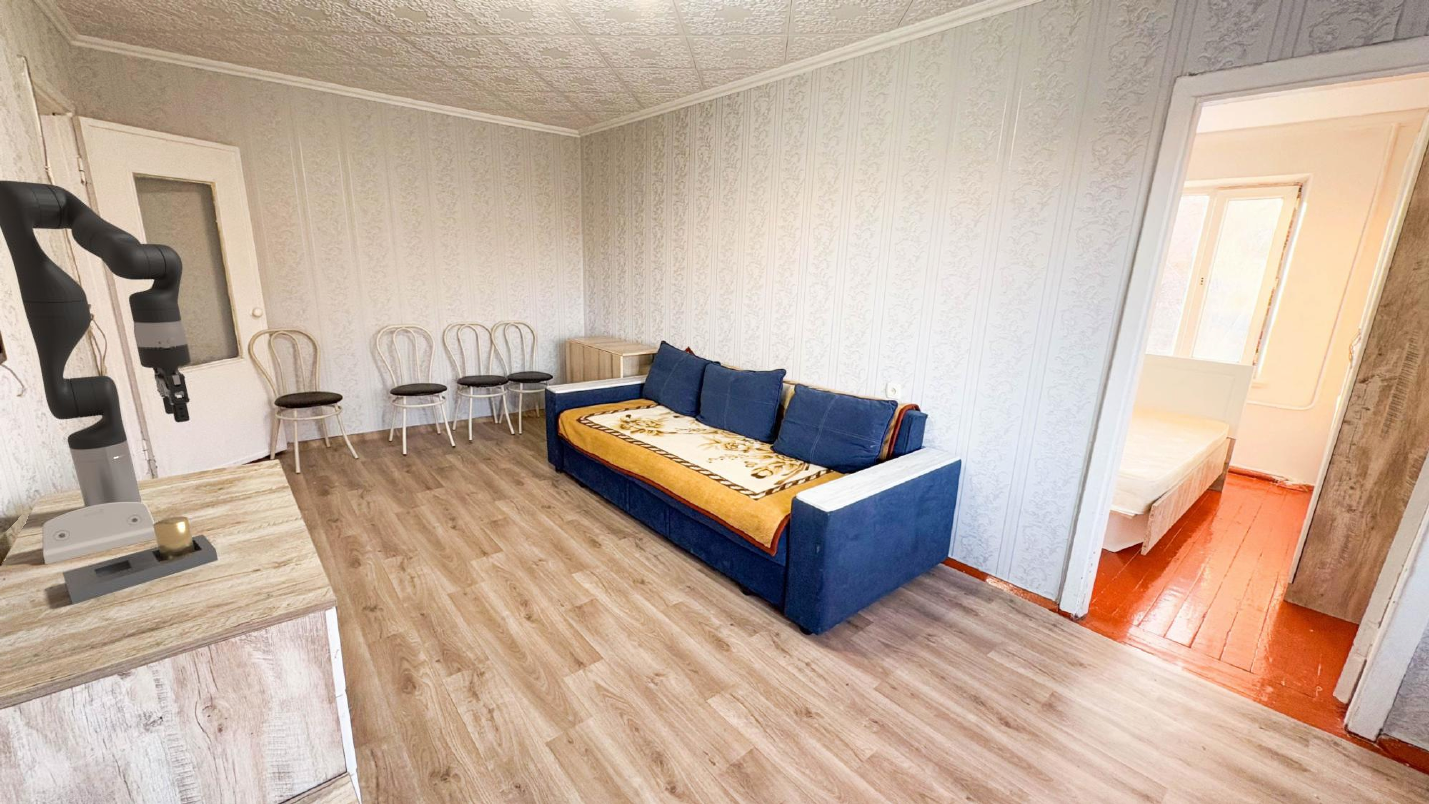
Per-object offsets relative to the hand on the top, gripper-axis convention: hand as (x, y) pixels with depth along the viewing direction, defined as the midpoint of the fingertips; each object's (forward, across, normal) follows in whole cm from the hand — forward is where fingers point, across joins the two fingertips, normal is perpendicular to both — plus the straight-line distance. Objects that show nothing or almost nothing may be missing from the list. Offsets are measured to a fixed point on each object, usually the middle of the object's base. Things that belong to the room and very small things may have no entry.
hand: (177, 417), depth 118 cm
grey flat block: (+27, +12, -11) cm, 32 cm away
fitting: (+27, +12, -6) cm, 31 cm away
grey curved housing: (+28, -9, -14) cm, 33 cm away
